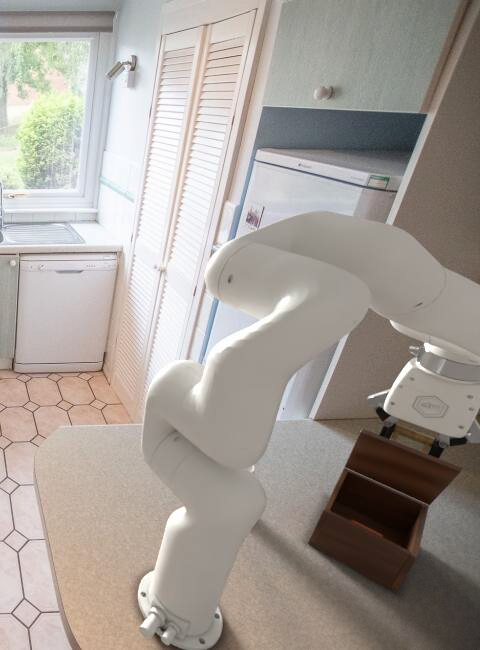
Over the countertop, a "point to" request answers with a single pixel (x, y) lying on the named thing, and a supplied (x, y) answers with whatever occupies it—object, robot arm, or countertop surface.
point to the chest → (377, 514)
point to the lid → (402, 464)
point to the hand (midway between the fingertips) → (405, 450)
